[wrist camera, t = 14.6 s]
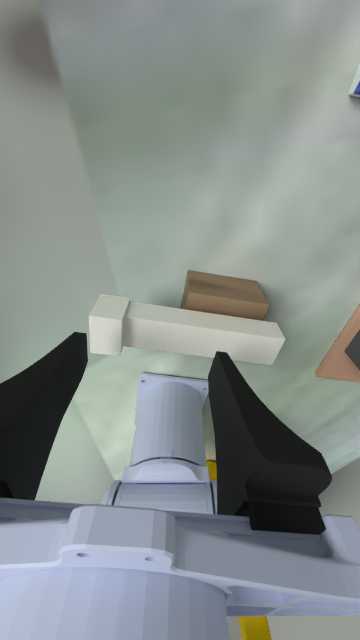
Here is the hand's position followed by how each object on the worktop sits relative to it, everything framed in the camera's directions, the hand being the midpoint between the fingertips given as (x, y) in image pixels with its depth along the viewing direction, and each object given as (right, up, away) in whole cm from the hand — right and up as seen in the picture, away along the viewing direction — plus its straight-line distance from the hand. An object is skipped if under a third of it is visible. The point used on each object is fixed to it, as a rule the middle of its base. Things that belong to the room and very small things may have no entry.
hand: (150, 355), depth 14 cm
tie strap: (+2, +2, +5) cm, 6 cm away
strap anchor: (+5, +4, +9) cm, 11 cm away
